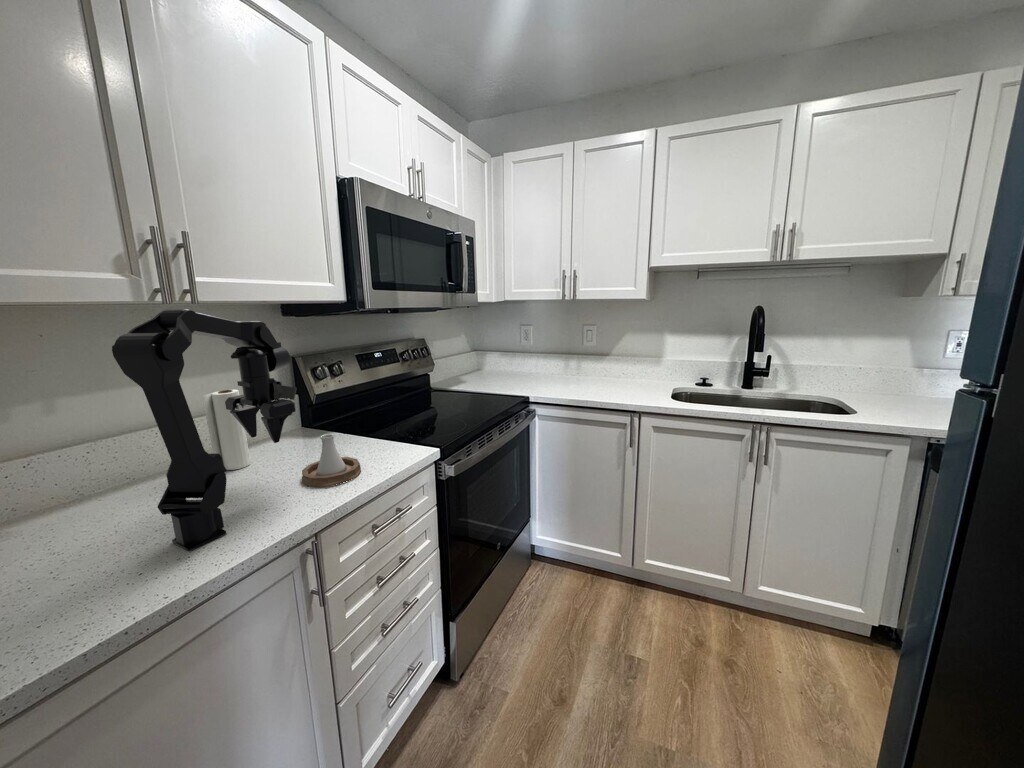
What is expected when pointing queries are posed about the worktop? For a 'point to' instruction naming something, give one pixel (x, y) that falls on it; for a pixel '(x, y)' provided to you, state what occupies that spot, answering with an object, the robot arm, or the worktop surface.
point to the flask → (329, 458)
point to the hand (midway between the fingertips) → (265, 439)
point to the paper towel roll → (226, 431)
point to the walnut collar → (323, 481)
